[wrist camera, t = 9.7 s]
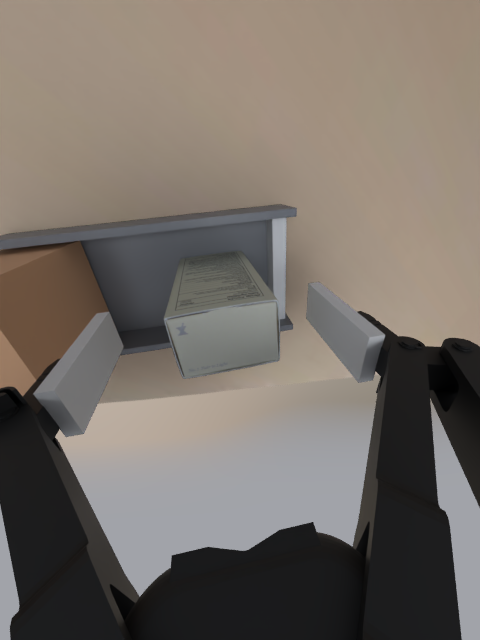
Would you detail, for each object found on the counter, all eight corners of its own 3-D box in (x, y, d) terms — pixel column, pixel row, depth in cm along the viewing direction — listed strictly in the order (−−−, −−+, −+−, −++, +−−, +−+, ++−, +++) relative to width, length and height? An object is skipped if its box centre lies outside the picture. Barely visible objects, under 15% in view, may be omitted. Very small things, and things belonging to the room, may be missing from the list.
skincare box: (188, 298, 24) (178, 382, 14) (178, 256, 22) (157, 318, 12) (248, 289, 25) (281, 364, 14) (244, 247, 23) (280, 299, 12)
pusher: (57, 338, 24) (-36, 436, 15) (5, 248, 20) (-178, 306, 10) (117, 330, 25) (64, 419, 15) (79, 240, 20) (-30, 287, 11)
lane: (67, 340, 26) (44, 366, 22) (7, 233, 20) (-37, 244, 16) (280, 310, 28) (292, 329, 24) (280, 204, 22) (296, 207, 18)
